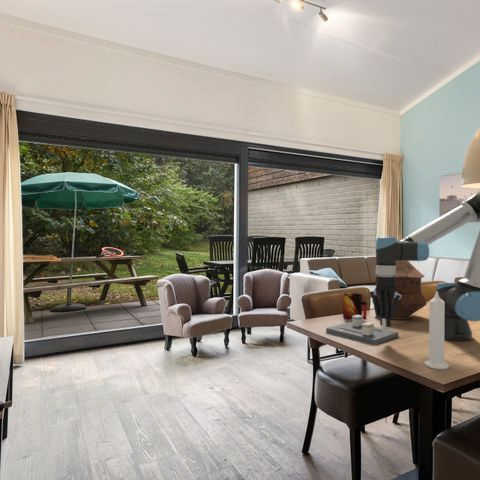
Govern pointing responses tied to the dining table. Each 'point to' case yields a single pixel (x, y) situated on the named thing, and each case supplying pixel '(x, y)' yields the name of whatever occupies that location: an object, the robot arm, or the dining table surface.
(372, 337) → the console
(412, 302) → the pottery vessel
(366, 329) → the fader
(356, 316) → the fader
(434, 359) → the candle
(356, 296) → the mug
